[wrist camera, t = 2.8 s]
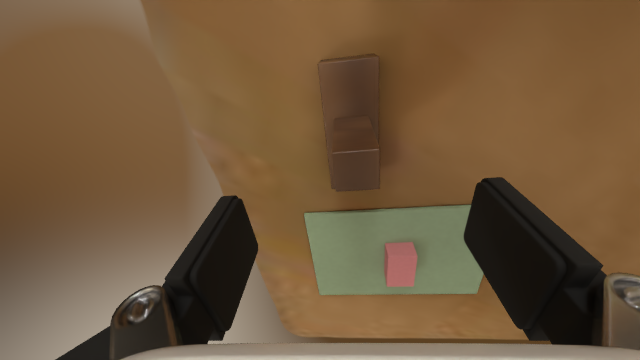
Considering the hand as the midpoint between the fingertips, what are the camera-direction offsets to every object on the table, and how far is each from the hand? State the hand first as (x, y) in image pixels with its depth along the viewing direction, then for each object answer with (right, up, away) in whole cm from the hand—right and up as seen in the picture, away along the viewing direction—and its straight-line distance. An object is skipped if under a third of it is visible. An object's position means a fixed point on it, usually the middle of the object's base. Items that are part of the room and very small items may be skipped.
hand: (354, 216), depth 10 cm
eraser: (+8, -8, +18) cm, 21 cm away
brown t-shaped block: (+1, +6, +10) cm, 12 cm away
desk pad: (+8, -7, +18) cm, 21 cm away
